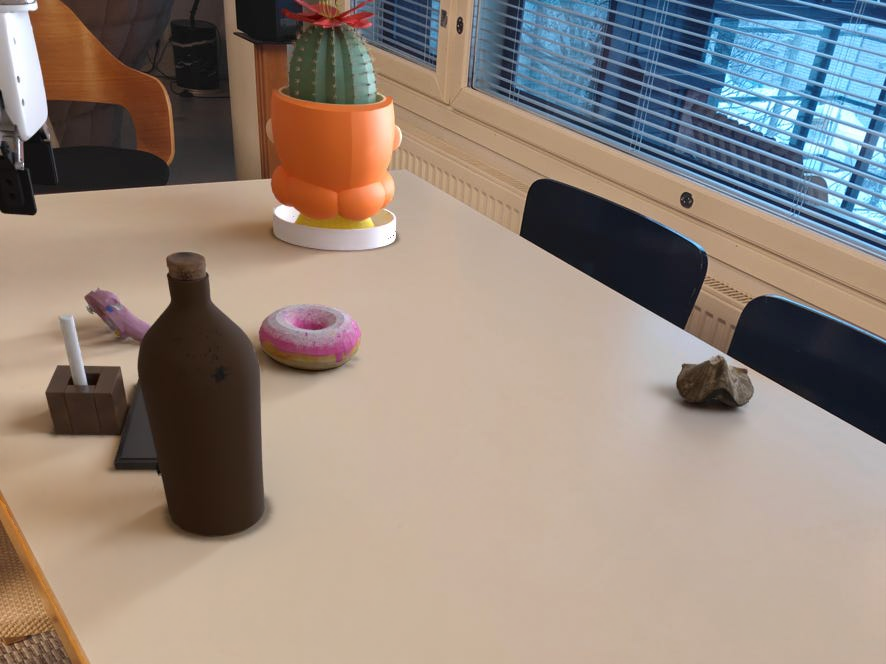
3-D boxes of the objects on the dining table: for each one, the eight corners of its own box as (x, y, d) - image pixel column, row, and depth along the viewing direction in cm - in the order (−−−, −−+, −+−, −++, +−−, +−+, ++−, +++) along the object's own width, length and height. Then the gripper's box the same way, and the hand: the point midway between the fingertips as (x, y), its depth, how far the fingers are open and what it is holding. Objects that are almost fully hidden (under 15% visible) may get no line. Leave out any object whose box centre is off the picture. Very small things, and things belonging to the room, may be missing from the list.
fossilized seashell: (756, 377, 122) (682, 373, 124) (759, 345, 116) (681, 341, 118) (748, 424, 119) (673, 418, 122) (751, 394, 113) (672, 389, 116)
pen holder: (55, 434, 99) (44, 392, 96) (66, 405, 104) (57, 364, 101) (119, 434, 100) (111, 393, 97) (128, 406, 105) (120, 366, 102)
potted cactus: (271, 216, 162) (257, -21, 139) (393, 221, 166) (399, -9, 143) (273, 257, 146) (256, -2, 123) (407, 261, 151) (416, 11, 128)
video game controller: (103, 333, 123) (70, 291, 117) (128, 312, 124) (98, 270, 118) (136, 359, 118) (103, 317, 112) (162, 338, 118) (132, 295, 113)
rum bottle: (291, 501, 93) (275, 254, 77) (229, 552, 85) (198, 291, 69) (206, 473, 96) (174, 228, 79) (139, 520, 88) (89, 261, 72)
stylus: (80, 422, 101) (57, 318, 93) (83, 416, 102) (60, 313, 94) (93, 422, 102) (71, 319, 94) (95, 417, 103) (74, 314, 95)
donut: (291, 326, 126) (290, 291, 123) (377, 346, 124) (378, 311, 121) (242, 361, 117) (238, 324, 113) (334, 384, 114) (333, 346, 111)
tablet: (115, 469, 95) (113, 461, 94) (139, 385, 109) (138, 377, 109) (222, 469, 97) (221, 461, 96) (231, 386, 111) (231, 378, 111)
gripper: (-33, -32, 82) (11, 170, 93) (-95, -8, 69) (-36, 223, 81) (54, -23, 83) (87, 176, 95) (8, 3, 71) (53, 229, 82)
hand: (31, 198), depth 88 cm, fingers open, 9 cm apart
